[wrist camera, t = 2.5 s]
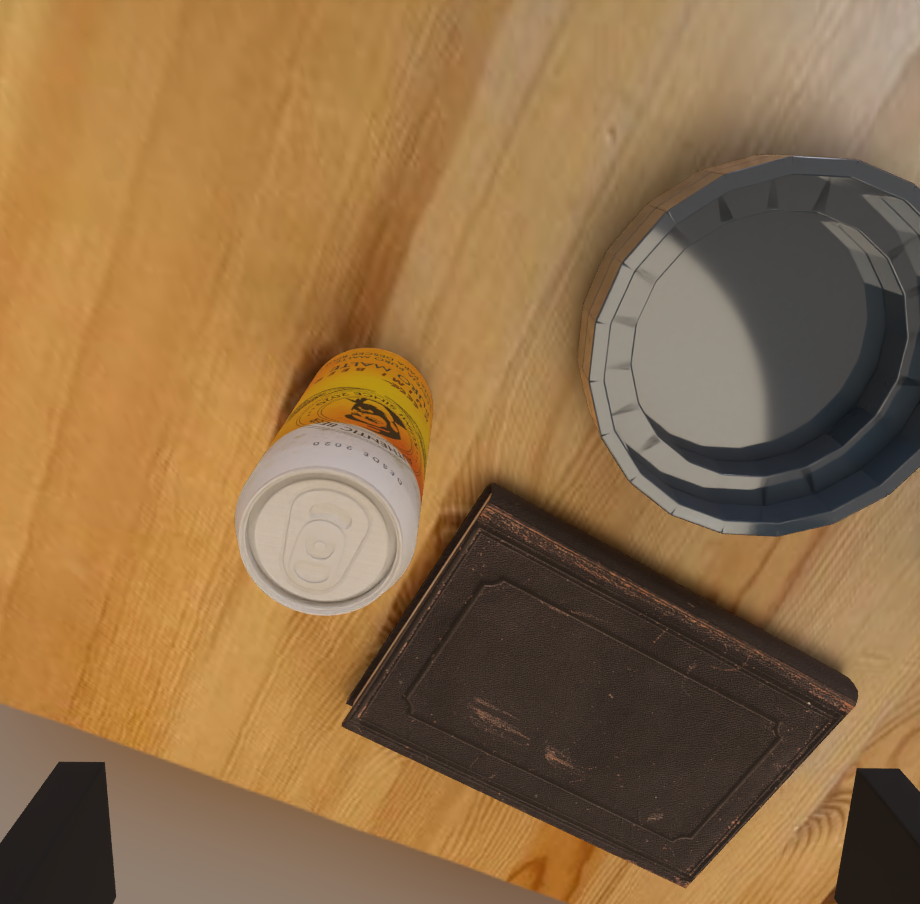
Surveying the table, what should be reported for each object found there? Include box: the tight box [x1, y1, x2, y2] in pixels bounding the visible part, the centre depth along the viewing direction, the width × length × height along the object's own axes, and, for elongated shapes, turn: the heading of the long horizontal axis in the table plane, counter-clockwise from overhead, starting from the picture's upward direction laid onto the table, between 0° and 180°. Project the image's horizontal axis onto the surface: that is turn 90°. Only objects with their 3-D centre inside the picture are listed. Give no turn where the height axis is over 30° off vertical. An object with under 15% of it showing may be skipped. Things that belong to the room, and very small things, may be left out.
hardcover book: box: [342, 483, 858, 888], centre depth 45 cm, size 16×23×2 cm
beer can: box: [235, 348, 433, 616], centre depth 33 cm, size 6×6×15 cm
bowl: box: [577, 154, 920, 537], centre depth 37 cm, size 16×16×4 cm
